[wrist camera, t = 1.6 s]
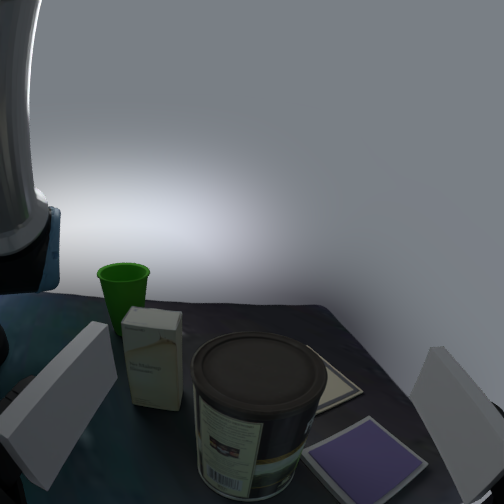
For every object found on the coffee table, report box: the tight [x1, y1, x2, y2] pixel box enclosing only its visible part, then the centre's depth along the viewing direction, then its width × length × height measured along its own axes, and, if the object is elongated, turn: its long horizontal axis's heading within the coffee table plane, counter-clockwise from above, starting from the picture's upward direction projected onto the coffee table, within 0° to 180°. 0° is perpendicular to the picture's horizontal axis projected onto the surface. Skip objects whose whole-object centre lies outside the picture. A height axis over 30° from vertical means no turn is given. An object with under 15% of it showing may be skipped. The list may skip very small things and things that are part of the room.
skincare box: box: [121, 306, 183, 411], centre depth 31 cm, size 6×4×12 cm
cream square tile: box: [307, 345, 363, 415], centre depth 39 cm, size 14×14×1 cm
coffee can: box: [190, 332, 328, 502], centre depth 23 cm, size 10×10×14 cm
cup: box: [97, 263, 150, 336], centre depth 46 cm, size 9×9×11 cm
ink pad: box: [300, 416, 428, 504], centre depth 23 cm, size 11×11×1 cm
